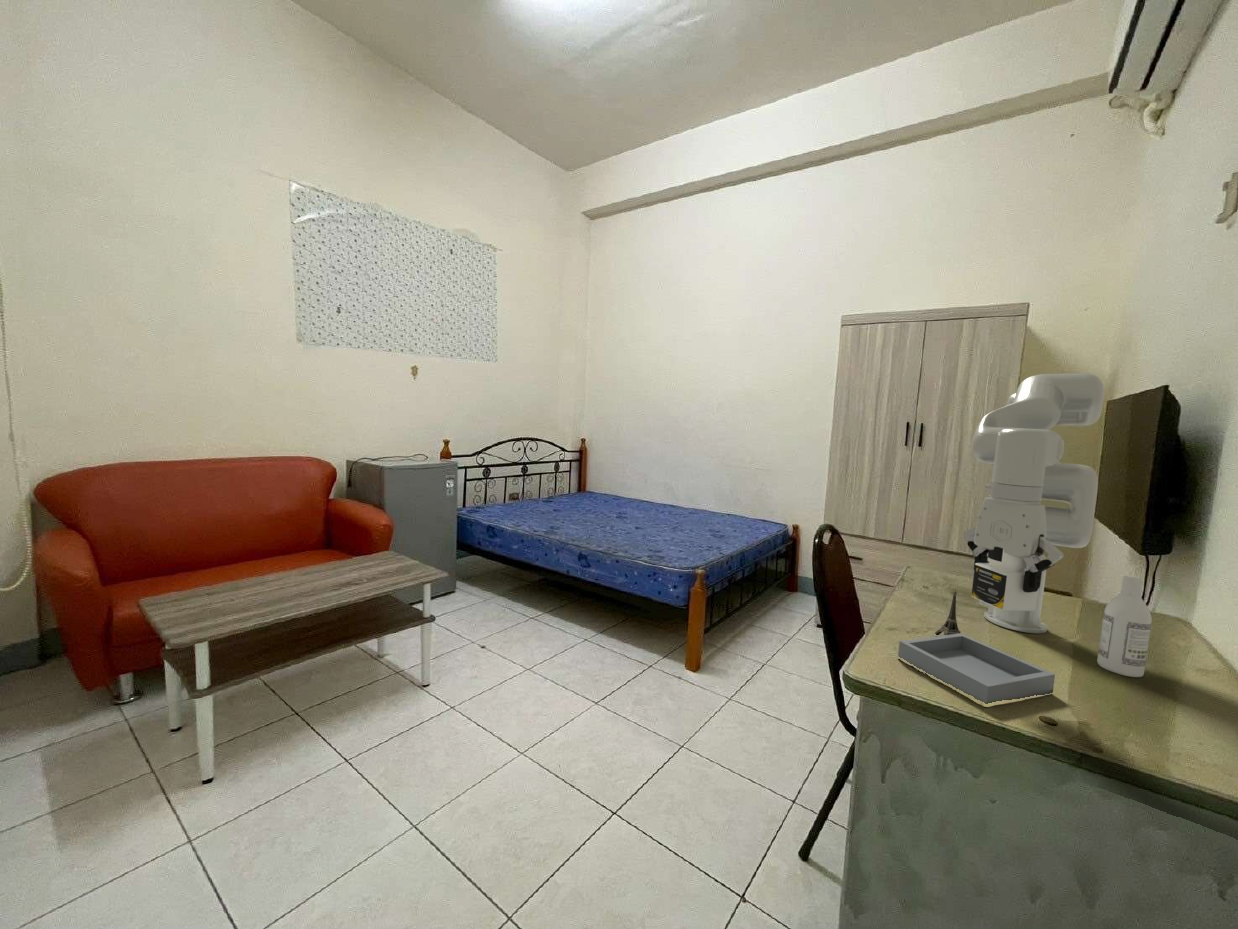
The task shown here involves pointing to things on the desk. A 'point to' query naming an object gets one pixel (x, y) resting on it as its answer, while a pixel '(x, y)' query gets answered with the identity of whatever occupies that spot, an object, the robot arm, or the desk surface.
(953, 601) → the eiffel tower figurine
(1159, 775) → the desk surface
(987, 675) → the tray
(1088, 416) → the robot arm
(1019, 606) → the medicine bottle
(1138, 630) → the bath foam
